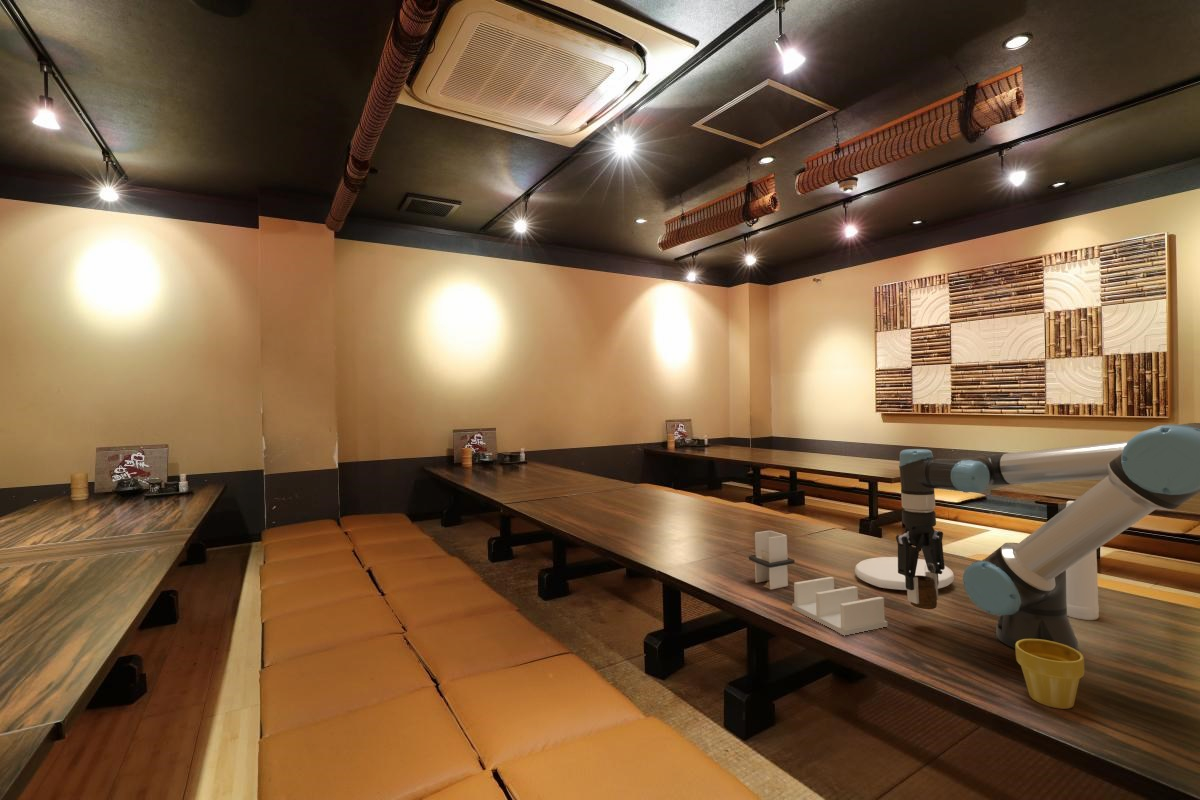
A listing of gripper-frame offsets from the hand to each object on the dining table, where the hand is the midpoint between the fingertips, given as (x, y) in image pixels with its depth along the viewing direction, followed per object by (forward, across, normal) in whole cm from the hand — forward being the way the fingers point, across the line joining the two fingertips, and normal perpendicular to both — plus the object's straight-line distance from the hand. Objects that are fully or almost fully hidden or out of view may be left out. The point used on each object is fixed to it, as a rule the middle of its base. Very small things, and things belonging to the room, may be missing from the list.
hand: (923, 600), depth 139 cm
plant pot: (+8, +7, +33) cm, 35 cm away
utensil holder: (+2, 0, 0) cm, 2 cm away
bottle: (+8, -44, +9) cm, 46 cm away
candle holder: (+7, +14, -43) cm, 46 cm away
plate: (+7, -25, -29) cm, 39 cm away
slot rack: (+7, +15, -14) cm, 21 cm away
